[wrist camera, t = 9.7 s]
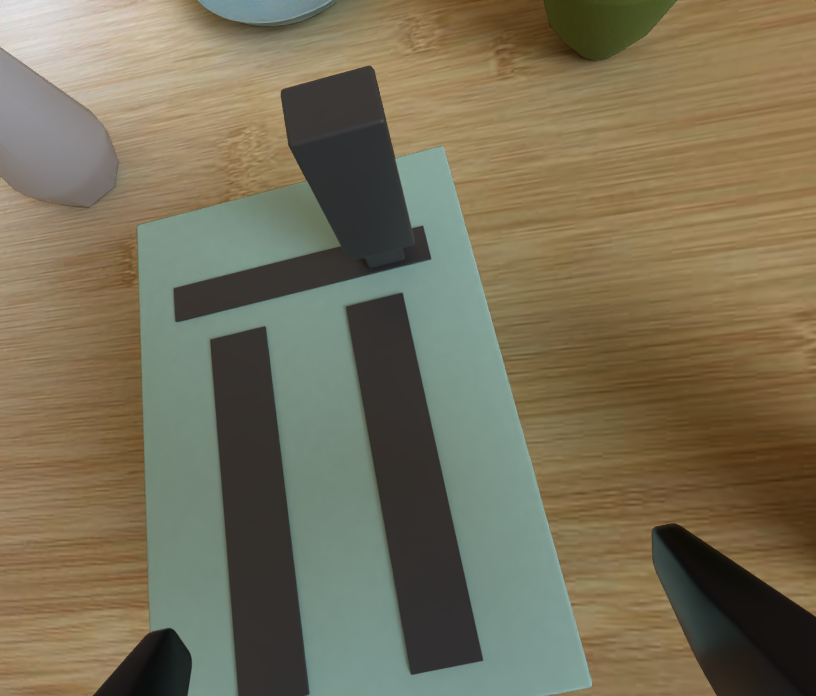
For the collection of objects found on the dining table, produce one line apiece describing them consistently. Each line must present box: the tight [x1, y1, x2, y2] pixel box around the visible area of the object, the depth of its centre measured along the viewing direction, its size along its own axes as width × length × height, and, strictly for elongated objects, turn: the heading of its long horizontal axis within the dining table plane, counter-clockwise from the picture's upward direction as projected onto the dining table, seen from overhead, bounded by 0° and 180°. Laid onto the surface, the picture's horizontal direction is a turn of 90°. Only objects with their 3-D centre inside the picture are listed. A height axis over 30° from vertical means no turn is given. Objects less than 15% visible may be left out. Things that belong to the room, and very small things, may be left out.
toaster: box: [137, 146, 592, 696], centre depth 19 cm, size 16×11×9 cm
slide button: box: [281, 66, 415, 268], centre depth 13 cm, size 2×2×6 cm
